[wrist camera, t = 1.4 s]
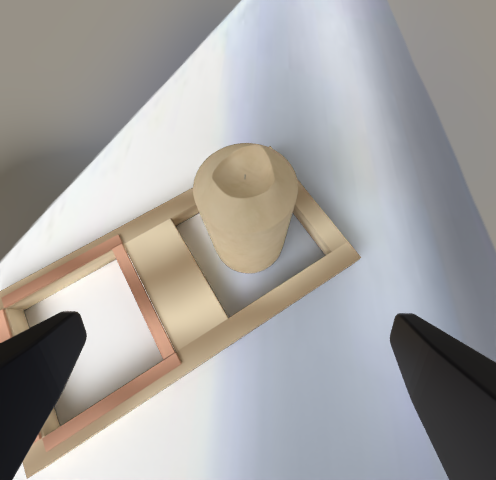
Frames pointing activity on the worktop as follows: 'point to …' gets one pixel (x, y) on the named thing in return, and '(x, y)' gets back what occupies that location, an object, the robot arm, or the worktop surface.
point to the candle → (246, 204)
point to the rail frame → (163, 306)
